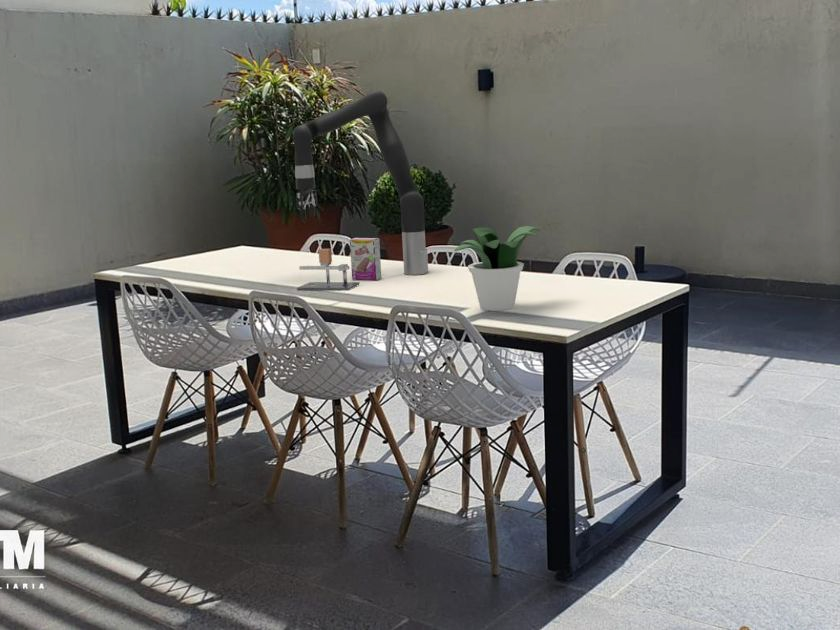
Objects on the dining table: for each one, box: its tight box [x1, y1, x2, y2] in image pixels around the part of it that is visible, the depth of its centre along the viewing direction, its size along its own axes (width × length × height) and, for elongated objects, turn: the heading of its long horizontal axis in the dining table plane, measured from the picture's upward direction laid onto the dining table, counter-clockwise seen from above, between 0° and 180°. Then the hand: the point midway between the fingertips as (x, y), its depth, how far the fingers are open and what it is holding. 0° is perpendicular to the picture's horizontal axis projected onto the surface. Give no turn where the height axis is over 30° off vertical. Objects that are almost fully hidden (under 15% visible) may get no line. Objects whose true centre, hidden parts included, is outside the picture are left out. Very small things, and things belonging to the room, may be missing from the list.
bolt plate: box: [296, 263, 361, 291], centre depth 377 cm, size 21×12×9 cm, turn 73°
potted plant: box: [453, 225, 541, 312], centre depth 323 cm, size 32×35×26 cm
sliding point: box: [318, 248, 333, 284], centre depth 375 cm, size 4×4×13 cm
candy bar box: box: [349, 237, 382, 281], centre depth 390 cm, size 11×5×16 cm, turn 65°
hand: (307, 217), depth 391 cm, fingers open, 8 cm apart
